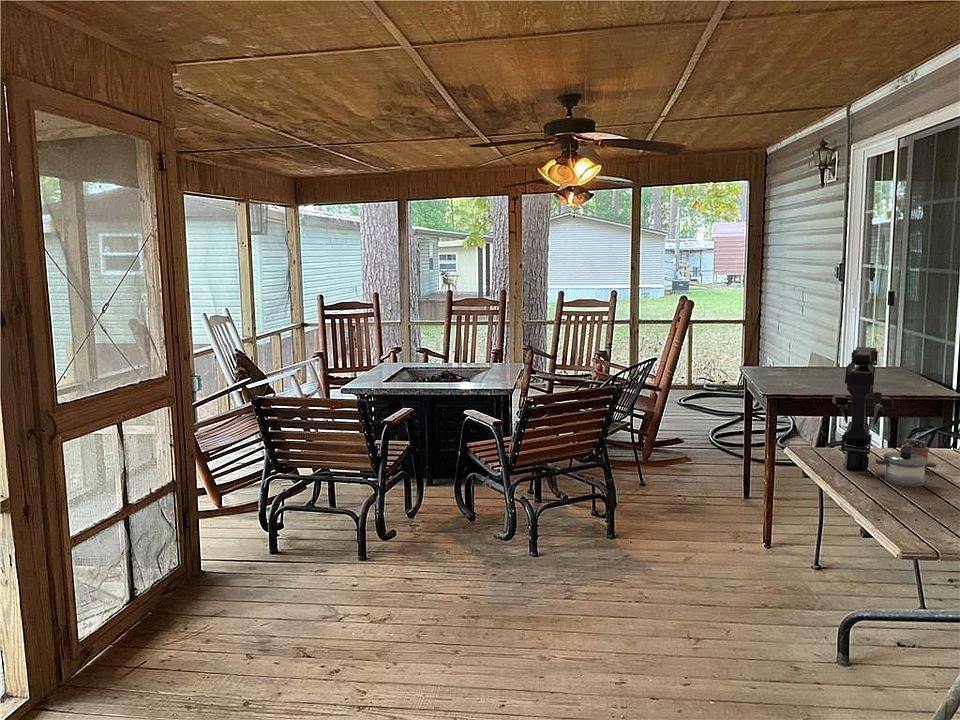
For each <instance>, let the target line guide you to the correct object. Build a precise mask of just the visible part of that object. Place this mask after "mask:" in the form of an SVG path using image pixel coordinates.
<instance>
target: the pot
mask: <svg viewBox="0 0 960 720" xmlns="http://www.w3.org/2000/svg"><path fill="white" fill-rule="evenodd" d="M875 463H876V464H877V465H884V466H885V470H884V480H885V482H888V483H891V484H894V485H898V486H903V487H911V488H912V487H921V486H923V485H924V484H925V473H926V470H925V467H927V468H932V469H934V468H937V464H936V463H935V462H932V461H931V462H929V461H928V464H927V465H924V466H906V465H900V464H895V463H891V462H888V461H886V460H885V459H878V458H877V459H876V458H875Z"/></svg>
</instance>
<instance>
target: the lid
mask: <svg viewBox="0 0 960 720" xmlns="http://www.w3.org/2000/svg"><path fill="white" fill-rule="evenodd" d="M911 445H912V444H911ZM911 445H908V444H901V446H900V451H899V452H898V451H893V452H886V453H884V454H883V460H886V461H888V462H891V463H895V464H900V465H906V466H924V465H927V464H928V462H929V459H927V458H925V457H922V456H919V455H915V454H911V453H912V446H911Z"/></svg>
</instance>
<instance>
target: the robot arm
mask: <svg viewBox="0 0 960 720" xmlns="http://www.w3.org/2000/svg"><path fill="white" fill-rule="evenodd" d="M878 355H879V351H878V350H877V348H876V347H866V346H865V347H864V346H856V347H855V349H853V350H852V352H851V357H850V358H851V362H850V363H848V364H847V366H846V369H845V376H844V377H845V378H844V384H845V385H846V391H847V392H848V393H849V395H850V396H851V397H848V396H846V395H845V394H833V395H832V397H831V398H832V399H831V403H833V404H834V405H835V406H837V407H838V408H839V409H840V411H841V414H842V416H843V420H844V422H845V424H847V427H846V431H844V433H843V434H842V435H841V440H840V441H841V444H840V451H842V452H844V453H845V454H844V455H845V456H844V463H843V464H842V466H843V467H844V468H845V469H846V471H851V472H852V471H853V472H854V471H856V472H868V471H869V470H868V469H869V462H870V461H869V460H870V458H869V456H868V455H870V454H871V447H872V436H873V435H872V434H871V433H870V429H871V428H870V424H869V423H867V422H866V406H867V407H874V410H873V411H874V413H873V421H872V423H873V425H874V426H876V425H877V423H878V421H879V419H880V417H881V415H882V414H883V412H885V410H889V408H893V407H894V401H893V399H892V398H890V397H889V396H883V394H882V391H881V392H880V391H879V392H878V391H875V392H874V386H875V377H876V368H875V366H878V360H879V359H878V358H879V357H878ZM854 369H855V370H854ZM848 404H851V421H849V417H848V415H849V412H848V410H849V409H848V408H849V406H848Z"/></svg>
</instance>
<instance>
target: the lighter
mask: <svg viewBox="0 0 960 720" xmlns="http://www.w3.org/2000/svg"><path fill="white" fill-rule="evenodd" d="M904 443H906V444H907V445H911V446H912V453H911V454H915V455H919V456H922V457H925V458H927V459H928V458H929V451H930V448H929V447H927V446H926V441H924V440H919V439H918V438H916V439H913V438H912V439H911V438H905V439H904ZM928 460H929V459H928ZM926 470H928V467H925V471H926Z"/></svg>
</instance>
